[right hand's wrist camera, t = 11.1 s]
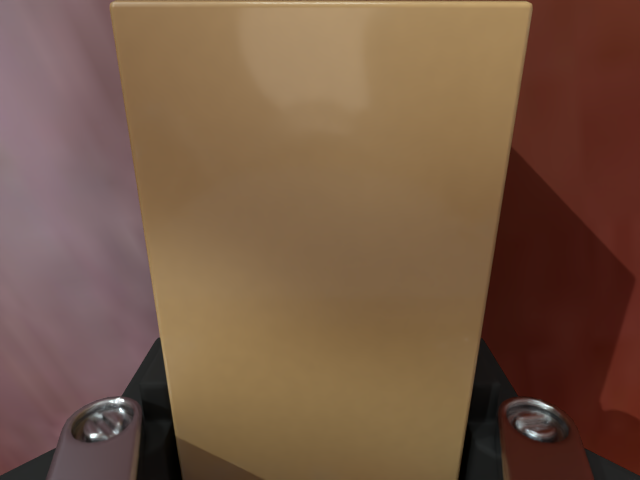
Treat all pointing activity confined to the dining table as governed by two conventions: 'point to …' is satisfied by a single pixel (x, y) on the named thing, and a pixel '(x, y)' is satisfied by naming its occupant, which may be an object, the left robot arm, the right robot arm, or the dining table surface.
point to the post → (320, 223)
